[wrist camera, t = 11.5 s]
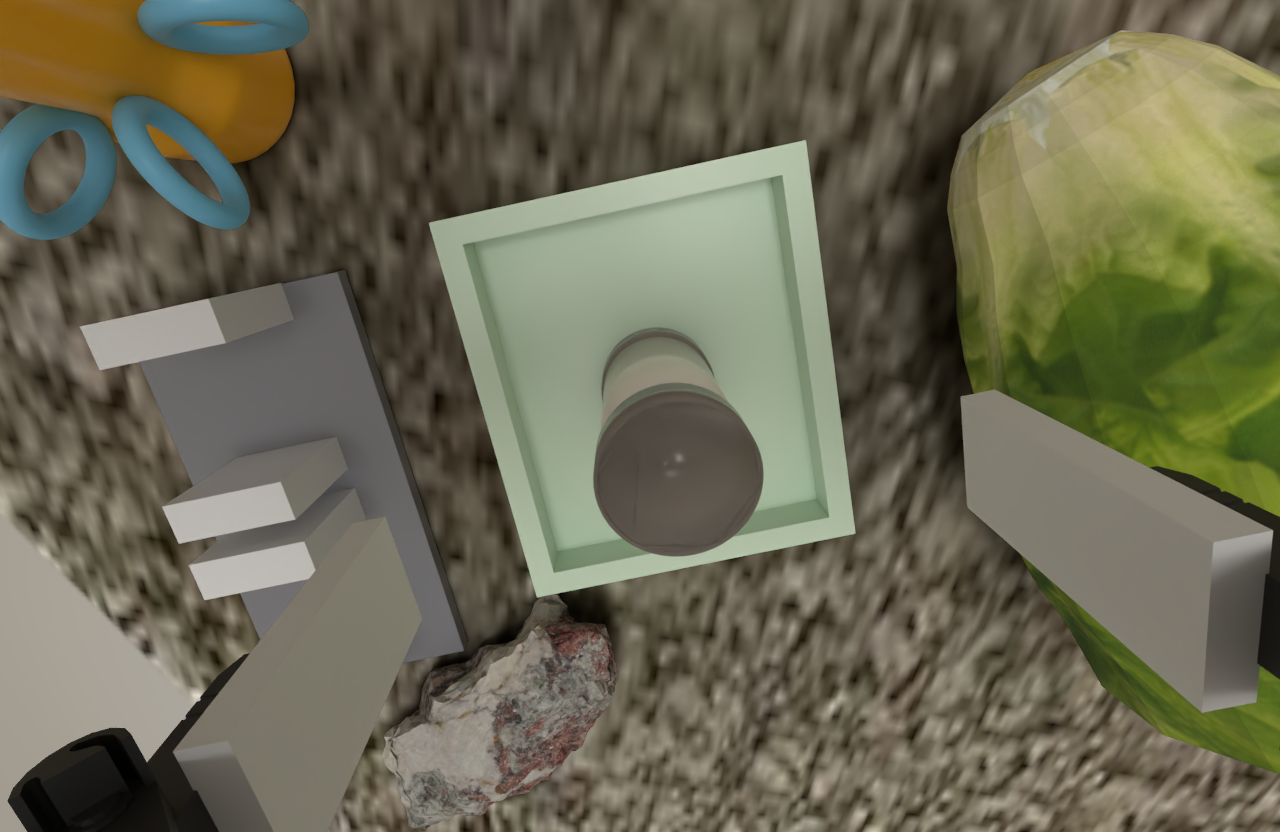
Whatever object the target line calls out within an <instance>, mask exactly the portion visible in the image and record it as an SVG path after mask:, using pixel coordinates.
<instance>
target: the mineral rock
mask: <svg viewBox="0 0 1280 832" xmlns="http://www.w3.org/2000/svg"><path fill="white" fill-rule="evenodd" d="M614 656H615V655H614V652H613V649H612V644H611V641H610V637H609V634H608V632H607V629H606V626H605V624H594V623H582V622H575V619H574V618H572V617H571V616H570V615H569V612H568V608H567V605H566V604H565V603H563V602H562V600H561V599H560V598H559V596H558V595H556V594H552V595H547V596H542V597H540V598H539V599H538V600H537V601H536V602H535V603H534V606H533V609H532V612H531V614H530V616H529V617H528V618H527V619H526V621H525V622H524V624H523V626H522V628H521V629H520V631H519V632H518V634H517V636H516V638H515V640H513V641H511V642H507V643H504V644H498V645H486V646H483V647H481V648H479V649H477V650H476V652H475V653H474V654H473V656H472V657H471V658H470V659H469V660H467V661H465V662H463V663H460V664H459V663H456V664H452V665H450V666H444V667H441V668H435V669H433V670H432V671H430V672H429V675H428V678H427V680H426V682H425V683H424V686H423V688H422V690H421V702H420V706H419V710H417V711H416V712H414V713H413V714H412V716H411V717H406V718H405V719H404V720H403V721H402V722H401V723H400V724H397V725H396V726H394V727H393V728H391V729H390V730H389V731H388V732H387V733H386V734H384V735H383V736H384V738H385V740H386V746H385V749H384V752H383V755H382V758H383V759H384V762H385V765H386V766H387V767H388V768H389V770H390V771H392V772H393V773H394V774H395V775H396V776H397V782H396V790H397V791H398V792H399V793H400V794H401V801H402V803H403V804H404V805H405V806H406V812H407V814H408V818H409V821H408V826H409V827H410V828H411V829H415V828H418V827H422V828H424V829H427V828H428V827H429V826H431V825H433V824H436V823H439V822H441V821H445V820H447V819H448V818H450V817H452V816H454V815H466V816H474V817H475V816H479V815H482V814H484V813H485V812H486V810H487V807H488V806H490V805H492V804H493V803H495V802H498V801H500V800H504V799H505V798H507V797H509V796H513V795H518V794H525V793H527V792H529V791H530V790H531V788H532V787H533V786H535V785H536V784H538V783H539V782H540V781H542V780H548V779H549V778H550V776H551V774H552V771H553V770H554V769H555V768H557V767H559V766H561V765H562V764H563V762H564V760H565V759H566V758H567V757H568V755H569V754H570V752H571V751H576V750H577V749H579V748H580V747H582V745H583V743H584V740H585V738H586V735H587V732H588V731H589V729H590V727H592V726H593V725H594V723H595V720H596V719H597V718H598V717H599V716H600V715H601V714H602V713H603V712H604V710H605V708H606V707H608V706H609V704H610V702H611V699H612V696H613V693H614V686H615V684H616V682H617V679H618V678H617V677H618V669H617V666H616V664H615V661H614V659H613V657H614Z"/></svg>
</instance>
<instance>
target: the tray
mask: <svg viewBox="0 0 1280 832" xmlns="http://www.w3.org/2000/svg"><path fill="white" fill-rule="evenodd" d="M429 226H430V230H431V233H432V237H433V240H434V243H435V247H436V250H437V254H438V257H439V261H440V264H441V268H442V271H443V275H444V278H445V281H446V285H447V288H448V292H449V295H450V299H451V302H452V306H453V309H454V313H455V316H456V319H457V323H458V326H459V330H460V333H461V337H462V340H463V344H464V347H465V351H466V354H467V357H468V361H469V364H470V368H471V371H472V375H473V378H474V382H475V385H476V389H477V392H478V395H479V399H480V402H481V406H482V409H483V413H484V416H485V420H486V423H487V427H488V430H489V434H490V437H491V440H492V444H493V447H494V451H495V454H496V458H497V461H498V465H499V468H500V472H501V475H502V478H503V482H504V485H505V489H506V492H507V496H508V499H509V503H510V506H511V510H512V513H513V516H514V520H515V523H516V527H517V530H518V534H519V537H520V541H521V544H522V548H523V551H524V554H525V558H526V561H527V565H528V568H529V572H530V575H531V579H532V582H533V586H534V589H535V592H536V596H537V597H542V596H547V595H552V594H557V593H562V592H567V591H572V590H577V589H582V588H587V587H592V586H597V585H602V584H607V583H612V582H617V581H622V580H627V579H632V578H637V577H642V576H647V575H652V574H657V573H662V572H667V571H672V570H677V569H682V568H687V567H692V566H697V565H702V564H707V563H712V562H717V561H722V560H726V559H731V558H736V557H741V556H746V555H751V554H756V553H761V552H766V551H771V550H776V549H781V548H786V547H791V546H796V545H801V544H806V543H811V542H816V541H821V540H826V539H831V538H836V537H841V536H846V535H851V534H855V526H854V518H853V510H852V502H851V494H850V486H849V479H848V471H847V463H846V455H845V447H844V439H843V431H842V423H841V415H840V407H839V399H838V391H837V383H836V376H835V368H834V360H833V352H832V344H831V336H830V328H829V320H828V312H827V304H826V296H825V288H824V280H823V272H822V265H821V257H820V249H819V241H818V233H817V225H816V217H815V209H814V201H813V193H812V185H811V177H810V169H809V161H808V154H807V146H806V140H804V141H799V142H795V143H790V144H786V145H781V146H777V147H772V148H768V149H763V150H758V151H754V152H749V153H745V154H740V155H736V156H731V157H726V158H722V159H717V160H713V161H708V162H704V163H699V164H695V165H690V166H685V167H681V168H676V169H672V170H667V171H663V172H658V173H654V174H649V175H644V176H640V177H635V178H631V179H626V180H622V181H617V182H613V183H608V184H603V185H599V186H594V187H590V188H585V189H581V190H576V191H571V192H567V193H562V194H558V195H553V196H549V197H544V198H540V199H535V200H530V201H526V202H521V203H517V204H512V205H508V206H503V207H499V208H494V209H489V210H485V211H480V212H476V213H471V214H467V215H462V216H458V217H453V218H448V219H444V220H439V221H435V222H430V223H429ZM655 327H661V328H668V329H672V330H675V331H678V332H680V333H682V334H684V335H686V336H688V337H689V338H690V339H692V340H693V341H694V342H695V343H696V344H697V345H698V346H699V348H700V349H701V350H702V352H703V353H704V355H705V357H706V358H707V360H708V362H709V364H710V365H711V368H712V370H713V373H714V377H715V379H716V381H717V383H718V384H719V386H720V388H721V390H722V391H723V393H724V395H725V397H726V398H727V400H728V402H729V403H730V404H731V405H732V406H733V407H734V408H735V409H736V411H737V412H738V413H739V415H740V416H741V418H742V419H743V421H744V423H745V424H746V426H747V428H748V429H749V431H750V433H751V434H752V436H753V438H754V440H755V441H756V443H757V446H758V448H759V451H760V454H761V458H762V462H763V472H764V476H763V487H762V492H761V496H760V499H759V502H758V505H757V507H756V509H755V511H754V513H753V514H752V516H751V517H750V519H749V520H748V522H747V523H746V524H745V525H744V526H743V528H742V529H741V530H740V531H739V532H738V533H737V534H735V535H734V536H733V537H732V538H731V539H729V540H728V541H726V542H725V543H723V544H721V545H720V546H718V547H716V548H714V549H711V550H709V551H706V552H703V553H699V554H695V555H690V556H678V557H671V556H662V555H657V554H652V553H649V552H646V551H643V550H641V549H639V548H637V547H635V546H633V545H631V544H630V543H628V542H627V541H625V540H624V539H622V538H621V537H620V536H619V535H618V534H617V533H615V531H614V530H613V529H612V528H611V527H610V526H609V525H608V523H607V522H606V520H605V519H604V517H603V515H602V513H601V511H600V509H599V507H598V504H597V501H596V498H595V493H594V487H593V473H594V462H595V452H596V445H597V441H598V437H599V434H600V432H601V419H602V407H603V401H602V390H601V388H602V377H603V370H604V366H605V363H606V361H607V358H608V356H609V355H610V353H611V351H612V350H613V349H614V347H615V346H616V345H617V344H618V343H619V342H620V341H621V340H623V339H624V338H625V337H627V336H628V335H630V334H632V333H634V332H636V331H639V330H642V329H646V328H655Z"/></svg>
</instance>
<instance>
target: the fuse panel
mask: <svg viewBox="0 0 1280 832" xmlns="http://www.w3.org/2000/svg"><path fill="white" fill-rule="evenodd" d="M80 328H81V330H82V332H83V335H84V337H85V339H86V341H87V343H88V346H89V348H90V350H91V352H92V354H93V356H94V359H95V361H96V363H97V365H98V367H99V370H103V369H108V368H113V367H117V366H122V365H126V364H131V363H136V362H139V363H140V365H141V368H142V370H143V372H144V375H145V377H146V379H147V381H148V384H149V386H150V388H151V391H152V393H153V395H154V397H155V400H156V402H157V404H158V407H159V409H160V411H161V413H162V416H163V418H164V420H165V423H166V425H167V427H168V429H169V432H170V434H171V436H172V439H173V441H174V443H175V445H176V448H177V450H178V452H179V455H180V457H181V459H182V462H183V464H184V466H185V468H186V471H187V473H188V475H189V478H190V480H191V482H192V484H193V487H191V488H190V489H188V490H187V491H185V492H184V493H182V494H181V495H179V496H178V497H176V498H175V499H173V500H171V501H170V502H168V503H167V504H165V505H164V506H162V508H163V510H164V512H165V514H166V517H167V519H168V521H169V523H170V525H171V527H172V530H173V532H174V534H175V536H176V538H177V541H178V543H179V544H180V543H184V542H189V541H194V540H199V539H204V538H209V537H213V536H215V537H216V539H217V542H216V543H215V544H214V545H213V546H211V547H210V548H209V549H208V550H206V551H205V552H204V553H203V554H202V555H200V556H199V557H198V558H197V559H196V560H194V561H193V562H192V563H191V564H190V565H189V567H190V569H191V571H192V573H193V576H194V578H195V580H196V582H197V584H198V587H199V589H200V591H201V593H202V595H203V598H204V600H208V599H213V598H218V597H223V596H228V595H233V594H238V593H240V594H241V597H242V599H243V601H244V603H245V606H246V608H247V610H248V613H249V615H250V617H251V619H252V622H253V624H254V626H255V629H256V631H257V633H258V635H259V638H260V640H261V639H262V638H263V636H264V635H265V634H266V633H267V631H268V630H269V629H270V628H271V626H272V625H273V624H274V622H275V621H276V620H277V619H278V617H279V616H280V615H281V614H282V612H283V611H284V610H285V609H286V607H287V606H288V605H289V603H290V602H291V601H292V600H293V598H294V597H295V596H296V595H297V593H298V592H299V591H300V589H301V588H302V587H303V586H304V584H305V583H306V582H307V581H308V579H309V578H310V577H311V575H312V574H313V573H314V572H315V570H316V569H317V568H318V567H319V565H320V564H321V563H322V562H323V560H324V559H325V558H326V556H327V555H328V554H329V553H330V551H331V550H332V549H333V548H334V546H335V545H336V544H337V542H338V541H339V540H340V539H341V537H342V536H343V535H344V534H345V532H346V531H347V530H348V528H349V527H350V526H351V525H352V523H357V522H361V521H366V520H371V519H376V518H381V517H386V520H387V522H388V525H389V528H390V531H391V534H392V536H393V539H394V542H395V545H396V547H397V550H398V553H399V556H400V558H401V561H402V564H403V567H404V569H405V572H406V575H407V578H408V580H409V583H410V586H411V589H412V591H413V594H414V597H415V600H416V603H417V605H418V608H419V611H420V614H421V616H422V620H421V623H420V625H419V627H418V629H417V631H416V634H415V636H414V638H413V640H412V643H411V645H410V647H409V649H408V652H407V654H406V656H405V658H404V661H403V663H406V662H411V661H416V660H421V659H426V658H431V657H436V656H441V655H446V654H451V653H456V652H461V651H464V650H465V647H466V644H467V641H468V640H467V637H466V634H465V631H464V628H463V625H462V622H461V619H460V616H459V613H458V610H457V607H456V604H455V601H454V597H453V594H452V591H451V588H450V585H449V582H448V579H447V576H446V573H445V570H444V567H443V564H442V561H441V558H440V555H439V552H438V549H437V546H436V543H435V540H434V537H433V534H432V531H431V528H430V525H429V522H428V519H427V516H426V513H425V510H424V507H423V504H422V501H421V498H420V495H419V492H418V489H417V486H416V483H415V480H414V477H413V474H412V471H411V468H410V465H409V462H408V459H407V456H406V453H405V450H404V447H403V443H402V440H401V437H400V434H399V431H398V428H397V425H396V422H395V419H394V416H393V413H392V410H391V407H390V404H389V401H388V398H387V395H386V392H385V389H384V386H383V383H382V380H381V377H380V374H379V371H378V368H377V365H376V362H375V359H374V356H373V353H372V350H371V347H370V344H369V341H368V338H367V335H366V332H365V329H364V326H363V323H362V320H361V317H360V314H359V311H358V308H357V305H356V302H355V299H354V296H353V292H352V289H351V286H350V283H349V280H348V277H347V274H346V271H345V270H343V271H339V272H334V273H330V274H325V275H321V276H316V277H311V278H307V279H302V280H298V281H293V282H288V283H284V284H281V283H278V284H273V285H269V286H264V287H259V288H255V289H250V290H246V291H241V292H237V293H232V294H227V295H223V296H218V297H214V298H209V299H204V300H200V301H195V302H191V303H186V304H182V305H177V306H172V307H168V308H163V309H159V310H154V311H149V312H145V313H140V314H136V315H131V316H127V317H122V318H117V319H113V320H108V321H104V322H99V323H95V324H90V325H85V326H81V327H80Z"/></svg>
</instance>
